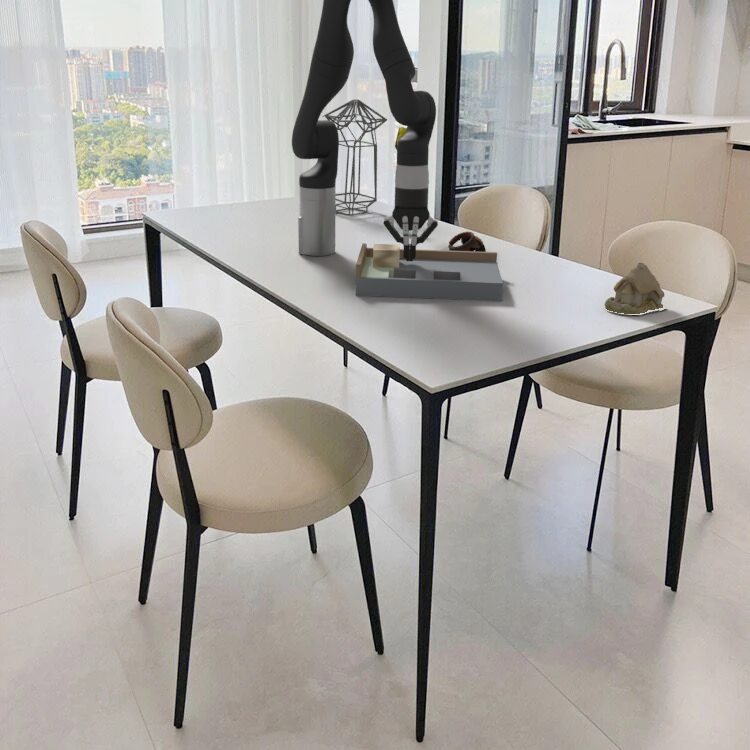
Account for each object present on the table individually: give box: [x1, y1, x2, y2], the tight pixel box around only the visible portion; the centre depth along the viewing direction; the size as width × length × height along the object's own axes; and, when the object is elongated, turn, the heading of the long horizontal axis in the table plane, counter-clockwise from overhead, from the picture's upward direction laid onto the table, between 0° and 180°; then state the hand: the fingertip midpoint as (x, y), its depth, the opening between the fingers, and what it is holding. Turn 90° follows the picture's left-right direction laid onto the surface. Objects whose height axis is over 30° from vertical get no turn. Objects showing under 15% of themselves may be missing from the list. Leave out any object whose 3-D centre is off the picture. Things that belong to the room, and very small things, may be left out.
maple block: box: [372, 243, 401, 268], centre depth 194 cm, size 6×6×4 cm
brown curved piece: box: [448, 231, 487, 252], centre depth 217 cm, size 12×9×8 cm
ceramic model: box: [604, 262, 665, 314], centre depth 179 cm, size 14×11×10 cm
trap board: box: [355, 243, 504, 302], centre depth 192 cm, size 32×20×7 cm, turn 87°
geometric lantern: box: [322, 98, 388, 216], centre depth 265 cm, size 16×16×35 cm
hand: (409, 260), depth 195 cm, fingers closed
